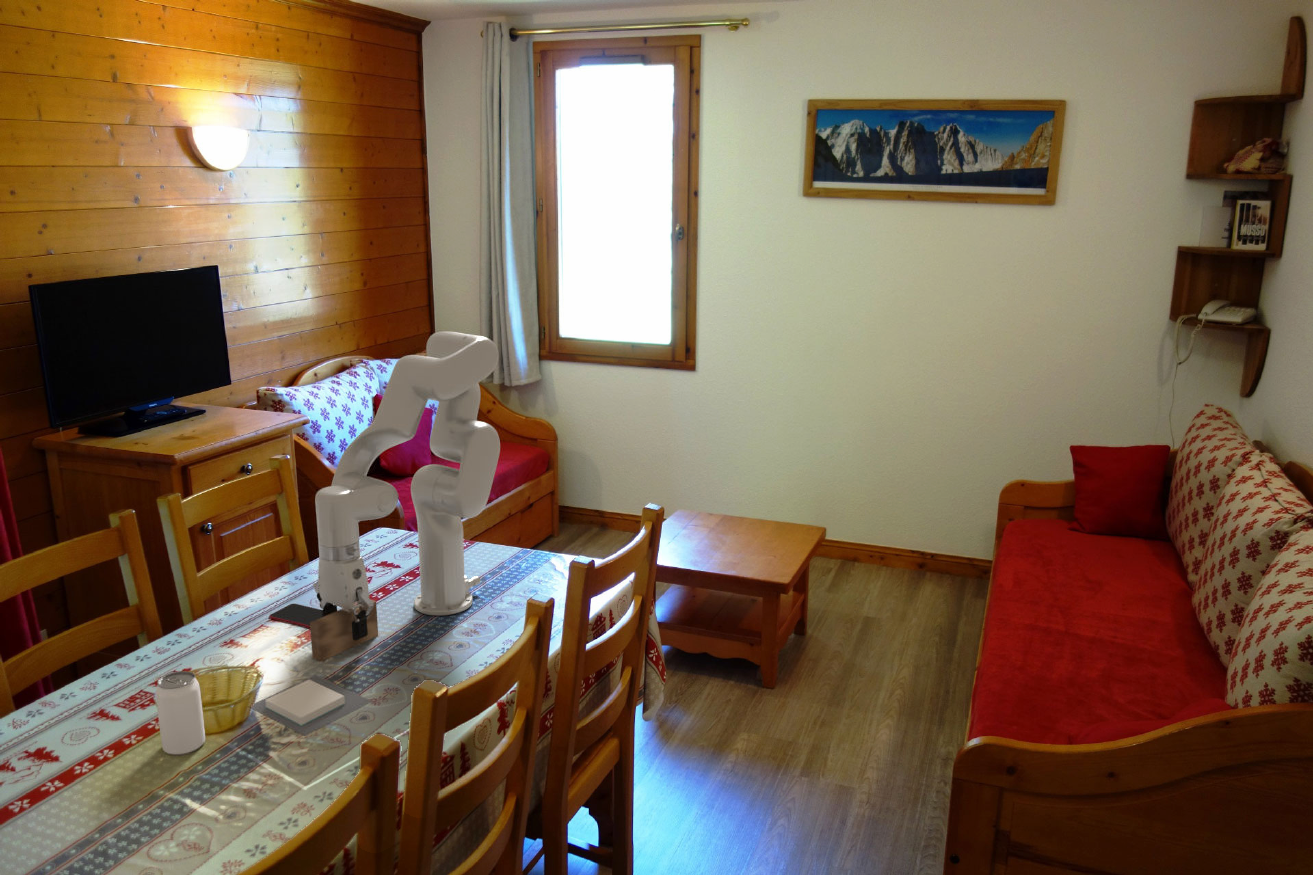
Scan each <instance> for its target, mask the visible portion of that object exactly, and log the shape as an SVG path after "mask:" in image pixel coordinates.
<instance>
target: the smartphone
mask: <svg viewBox="0 0 1313 875" xmlns="http://www.w3.org/2000/svg"><path fill="white" fill-rule="evenodd" d="M322 610H323V609H321V608H315V607H312V606H311V607H310V606H308V605H303V604H298V603H290V604H288V605H286V606H284V607H282V608H280V609H278V610H277V611H274V612H272V613H270V614H269V616H268V618H269V619H271V620H275V621H279V622H283V623H288V624H292V625H296V626H300V627H304V628H307V629H310V622H312V621H315V620H317V619H320V618H322Z"/></svg>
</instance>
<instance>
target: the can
mask: <svg viewBox="0 0 1313 875" xmlns="http://www.w3.org/2000/svg"><path fill="white" fill-rule="evenodd" d="M156 684H157V687H156V689H155V701H156V709H157V717H158V725H159V732H160V739H161V741H160V742H161V746H162V750H163V751H164V752H165V753H166V754H168V755H170V756H171V755H172V756H181V755H182V756H183V755H187V754H188V755H189V754H191V753H192V752H193V753H194V752H195V751H196V750H197V751H198V750H199V749H201V747H202V746H203V744H205V742H206V731H205V722H204V712H203V702H202V697H201V695H202V694H201V687H200V683H199V681H198V680H197V678H196V674H195V673H194V672H191V671H189V670H188V671H186V670H183V671H174V672H170V673H168V674H165V675H163V676H161V677H160V678H159V679H158V680H157V683H156Z"/></svg>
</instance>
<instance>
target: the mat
mask: <svg viewBox="0 0 1313 875" xmlns="http://www.w3.org/2000/svg"><path fill="white" fill-rule="evenodd" d="M307 680H311V681H313V682H316V683H318V684H320V685H322V686H324V687H326V688H328V689H330V690H333V691H335V692H337V693H339V694H341V695H343V696H344V697H345V704H344V705H342V706H340V707H338V708H336V709H334V710H332V711H330V712H328V713H326V714H325V715H323V716H321V717H319V718H317V719H315V720H313V721H311V722H309V723H307V724H305V725H303V726H300V725H298V724H296V723H294V722H292V721H291V720H289V719H287V718H285V717H283V716H281V715H279V714H277V713H275V712H273V711H271V710H269V709H267V708H266V702H265V700H266V699H268V698H270V697H272V696H274V695H277V694H279V693H281V692H283V691H285V690H287V689H290V688H292V687H294V686H296V685H298V684H300V683H302V682H305V681H307ZM372 702H373V701H372V700H371V699H368V698H365V697H363V696H361V695H359V694H357V693H355V692H352V691H351V690H349V689H346V688H344V687H343V686H340V685H337V684H336V683H333V682H332V681H329V680H327V679H326V678H325V679H324V678H323V677H320V676H318V675H315V674H314V675H313V676H310V677H308V678H306V679H304V680H303V681H300V682H298V683H295V684H293V685H292V686H289V687H288V688H285V689H283V690H280V691H278V692H276V693H274V694H272V695H270V696H268V697H265V698H262V699H261V700H258V701H256V702H254V703H253V704H254V705H253V706H252V708H251V709H252V710H253V711H255V712H258V713H260V714H262V715H263V716H265V717H267V718H269V719H271V720H273V721H274V722H277V723H279V724H281V725H283V726H285V727H287V728H289V729H290V730H292V731H294V732H296V733H297V734H300V735H302V736H304V737H306V736H308V735H310V734H311V733H313V732H316V731H318V730H319V729H321V728H323V727H326V726H327V725H329V724H331V723H332V722H335V721H337V720H339V719H341V718H342V717H345V716H346V715H348V714H350V713H352V712H354V711H356V710H359V709H360V708H362V707H364V706H366V705H369V703H372Z"/></svg>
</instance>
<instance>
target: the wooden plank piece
mask: <svg viewBox="0 0 1313 875" xmlns="http://www.w3.org/2000/svg"><path fill="white" fill-rule="evenodd" d="M369 599H370V598H369ZM370 600H371V601H372V602H373V604H374V606H373V608H372V610H371V614H370V615H369V617H368V618H367V630H368V635H367V636H365V637H363V638H361V639H359V640H357V641H355V640H353V636H352V621H354V620H353V618H352V616H351V613H350V611H349V610H347V609H344V608H341V609H339V610H337V611H336V612H334V613H332V614H329V615H327V616H324V617H322V618H320V619H317V620H315V621H312V622H310V628H309V630H310V631H309V632H310V641H311V642H310V644H311V653H312V654H311V655H312V659H314V660H316V661H319V662H320V663H321V662H323V661H326V660H327V659H330V658H332V657H334V656H337V655H339V654H340V653H342V652H346V651H349V650H350V649H351V648H355V647H356V646H358V645H360V644H362V643H365V642H367V641H369V640H372V639H374V638H376V637H379V624H378V611H377V601H376V600H374V599H370ZM356 604H358V603H357V602H355V603H354V604H353V606H354V605H356ZM355 610H356V612H357V614H359V612H360V609H359V608H356V609H355Z"/></svg>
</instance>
